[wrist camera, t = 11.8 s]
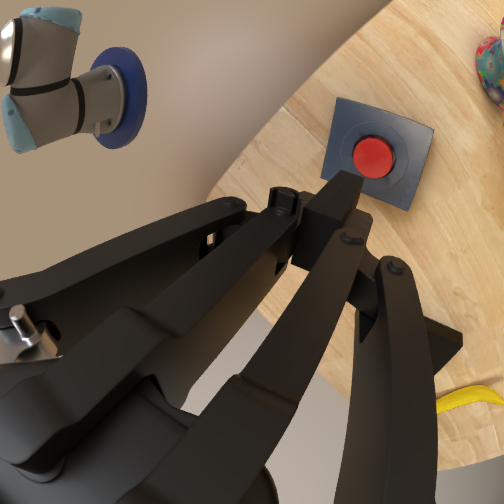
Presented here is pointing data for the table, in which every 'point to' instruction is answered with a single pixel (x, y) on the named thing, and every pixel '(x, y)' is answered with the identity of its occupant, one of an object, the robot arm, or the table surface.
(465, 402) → the banana
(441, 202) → the table surface
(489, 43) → the mug
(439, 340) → the stove panel
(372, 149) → the stop button
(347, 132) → the control block
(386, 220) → the table surface
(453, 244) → the table surface
